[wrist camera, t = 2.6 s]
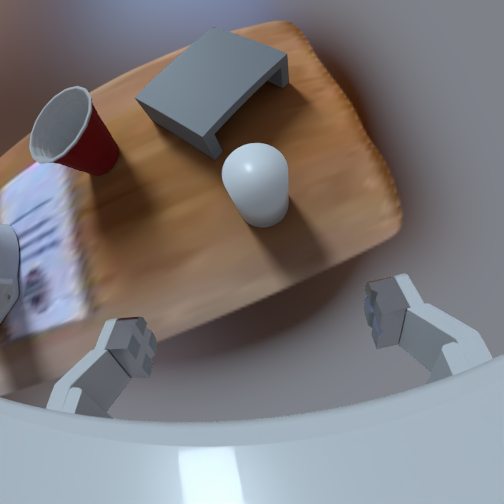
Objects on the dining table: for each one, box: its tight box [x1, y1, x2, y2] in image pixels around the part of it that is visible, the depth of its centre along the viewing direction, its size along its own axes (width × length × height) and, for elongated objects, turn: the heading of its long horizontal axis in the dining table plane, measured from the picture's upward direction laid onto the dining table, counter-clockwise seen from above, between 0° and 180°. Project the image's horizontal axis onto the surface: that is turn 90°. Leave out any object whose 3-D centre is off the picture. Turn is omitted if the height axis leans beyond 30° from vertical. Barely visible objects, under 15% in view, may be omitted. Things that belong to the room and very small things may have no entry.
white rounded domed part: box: [222, 143, 289, 228], centre depth 31 cm, size 6×6×9 cm
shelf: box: [135, 27, 289, 160], centre depth 36 cm, size 16×13×6 cm
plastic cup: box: [29, 86, 119, 175], centre depth 34 cm, size 11×11×12 cm
